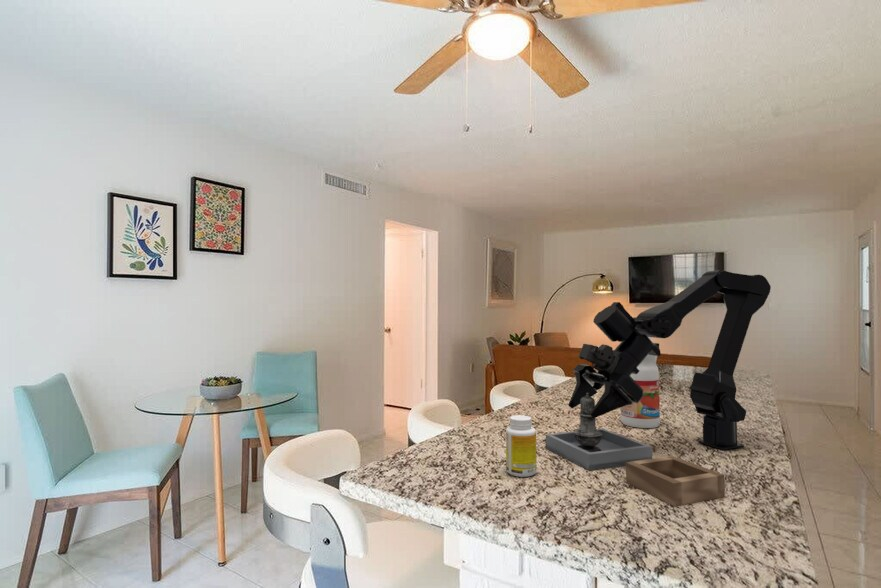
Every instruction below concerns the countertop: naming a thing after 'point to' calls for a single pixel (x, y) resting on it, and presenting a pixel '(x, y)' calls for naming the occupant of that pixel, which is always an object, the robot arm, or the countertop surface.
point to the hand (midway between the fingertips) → (580, 411)
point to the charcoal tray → (611, 455)
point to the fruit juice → (644, 397)
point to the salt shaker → (587, 426)
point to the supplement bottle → (521, 447)
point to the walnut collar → (675, 480)
